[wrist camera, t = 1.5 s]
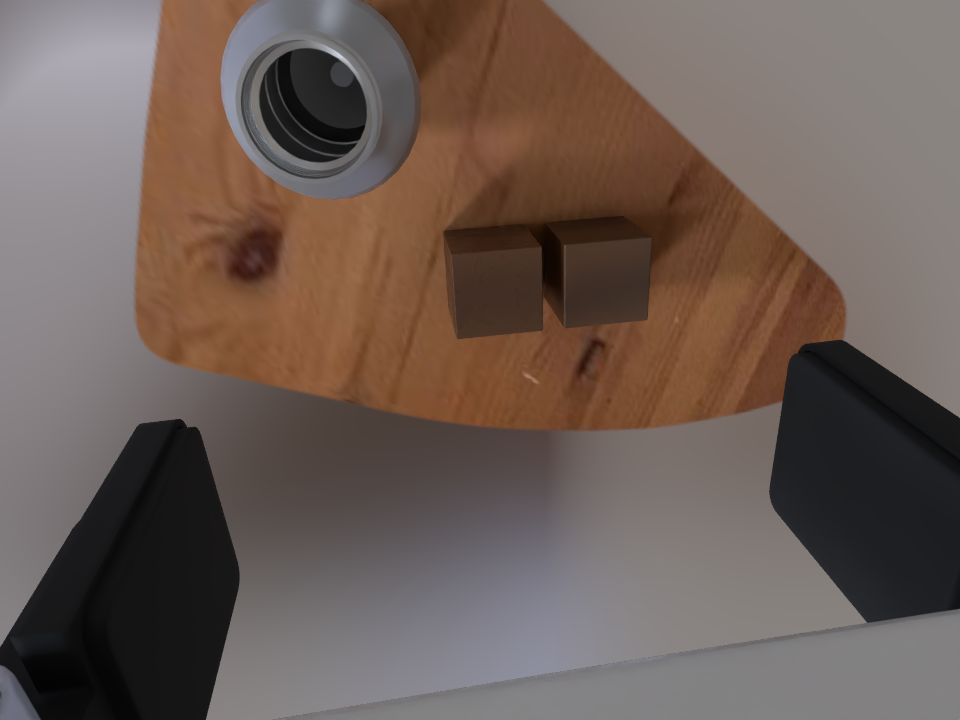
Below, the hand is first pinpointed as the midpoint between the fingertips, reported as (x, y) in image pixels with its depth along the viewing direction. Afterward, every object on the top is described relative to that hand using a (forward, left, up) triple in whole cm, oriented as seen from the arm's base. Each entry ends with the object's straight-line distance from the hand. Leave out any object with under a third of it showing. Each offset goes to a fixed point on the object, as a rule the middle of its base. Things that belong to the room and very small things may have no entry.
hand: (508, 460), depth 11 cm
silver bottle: (-5, -3, -30) cm, 31 cm away
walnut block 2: (+6, +10, -30) cm, 32 cm away
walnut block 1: (+6, +4, -30) cm, 31 cm away
